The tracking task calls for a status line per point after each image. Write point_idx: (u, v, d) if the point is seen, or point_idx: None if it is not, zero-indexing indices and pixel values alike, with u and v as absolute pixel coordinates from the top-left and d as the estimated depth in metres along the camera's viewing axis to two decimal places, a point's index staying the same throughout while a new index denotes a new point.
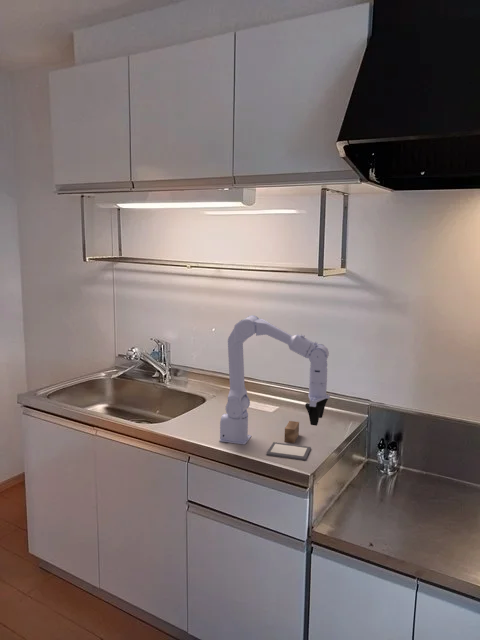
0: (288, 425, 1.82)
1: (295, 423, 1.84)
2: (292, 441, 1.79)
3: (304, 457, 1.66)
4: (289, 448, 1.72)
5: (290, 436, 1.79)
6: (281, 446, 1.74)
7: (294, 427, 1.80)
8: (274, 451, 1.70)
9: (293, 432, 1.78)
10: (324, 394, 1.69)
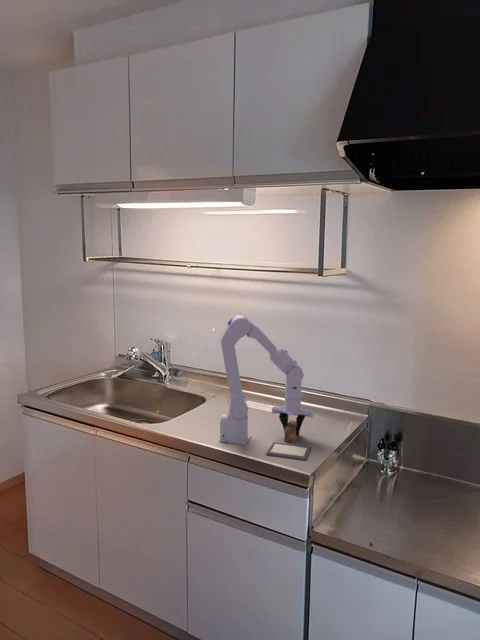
0: (288, 425, 1.82)
1: (295, 423, 1.84)
2: (292, 441, 1.79)
3: (304, 457, 1.66)
4: (289, 448, 1.72)
5: (290, 436, 1.79)
6: (281, 446, 1.74)
7: (294, 427, 1.80)
8: (274, 451, 1.70)
9: (293, 432, 1.78)
10: (287, 409, 1.79)
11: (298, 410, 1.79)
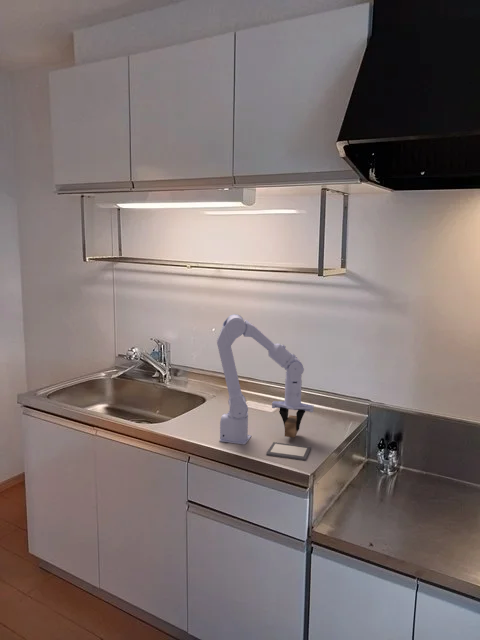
0: (288, 419, 1.82)
1: (296, 417, 1.83)
2: (292, 435, 1.79)
3: (304, 457, 1.66)
4: (289, 448, 1.72)
5: (290, 430, 1.78)
6: (281, 446, 1.74)
7: (294, 421, 1.80)
8: (274, 451, 1.70)
9: (293, 426, 1.78)
10: (287, 404, 1.79)
11: (298, 405, 1.79)
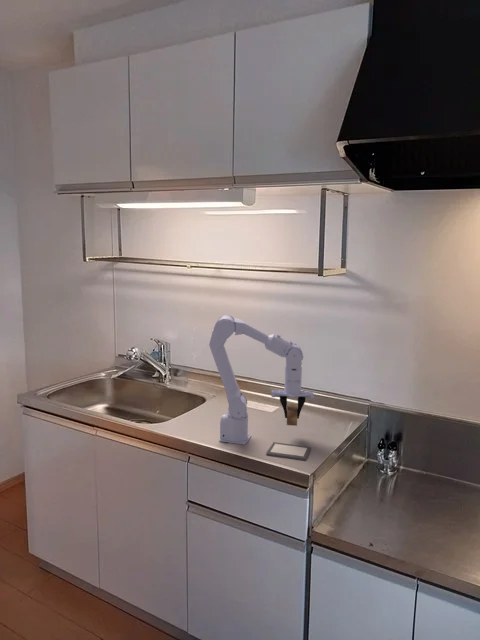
0: (288, 408, 1.79)
1: (295, 405, 1.81)
2: (295, 423, 1.76)
3: (304, 457, 1.66)
4: (289, 448, 1.72)
5: (292, 418, 1.76)
6: (281, 446, 1.74)
7: (295, 409, 1.77)
8: (274, 451, 1.70)
9: (296, 414, 1.75)
10: (289, 392, 1.76)
11: (299, 392, 1.77)
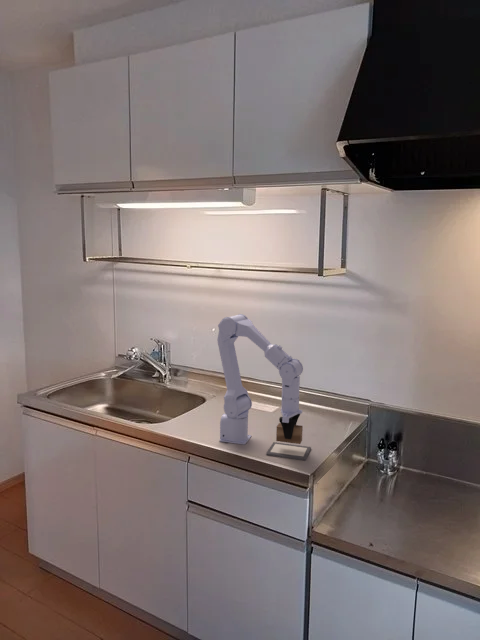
0: None
1: None
2: (301, 439, 1.70)
3: (304, 457, 1.66)
4: (289, 448, 1.72)
5: (301, 434, 1.69)
6: (281, 446, 1.74)
7: (296, 425, 1.70)
8: (274, 451, 1.70)
9: (302, 429, 1.70)
10: (297, 409, 1.67)
11: None
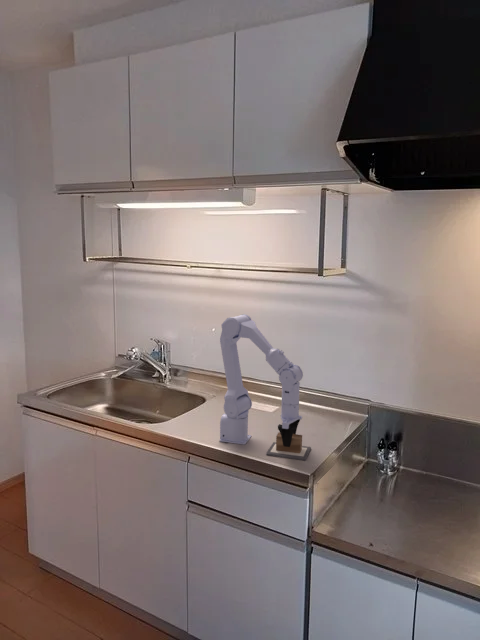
0: None
1: None
2: (301, 448, 1.71)
3: (304, 457, 1.66)
4: None
5: (301, 444, 1.70)
6: None
7: (295, 434, 1.71)
8: (274, 451, 1.70)
9: (301, 438, 1.71)
10: (296, 415, 1.67)
11: None
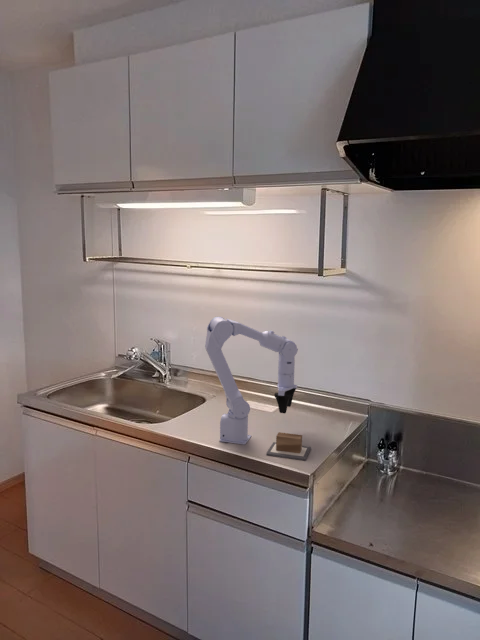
0: (290, 437, 1.69)
1: (284, 433, 1.72)
2: (301, 448, 1.71)
3: (304, 457, 1.66)
4: None
5: (301, 444, 1.70)
6: None
7: (295, 434, 1.71)
8: (274, 451, 1.70)
9: (301, 438, 1.71)
10: (292, 384, 1.81)
11: None
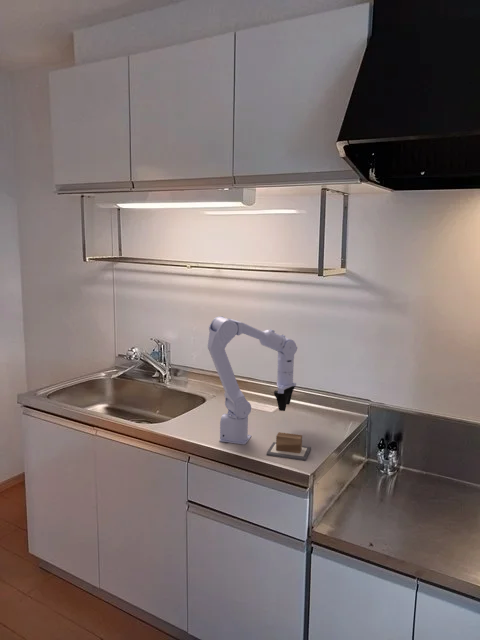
0: (290, 437, 1.69)
1: (284, 433, 1.72)
2: (301, 448, 1.71)
3: (304, 457, 1.66)
4: None
5: (301, 444, 1.70)
6: None
7: (295, 434, 1.71)
8: (274, 451, 1.70)
9: (301, 438, 1.71)
10: (291, 382, 1.84)
11: None
